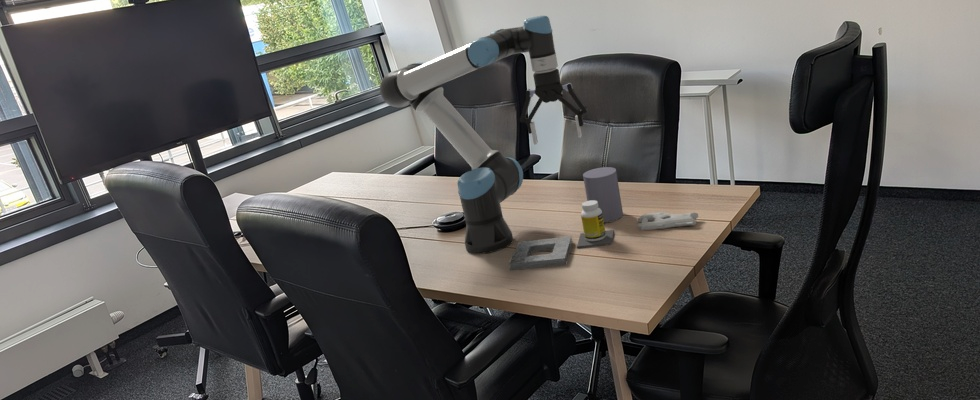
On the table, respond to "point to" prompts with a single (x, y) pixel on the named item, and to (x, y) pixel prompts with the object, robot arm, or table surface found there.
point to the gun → (666, 220)
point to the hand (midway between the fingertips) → (557, 140)
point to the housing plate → (558, 256)
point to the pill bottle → (592, 221)
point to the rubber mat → (606, 241)
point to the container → (604, 192)
